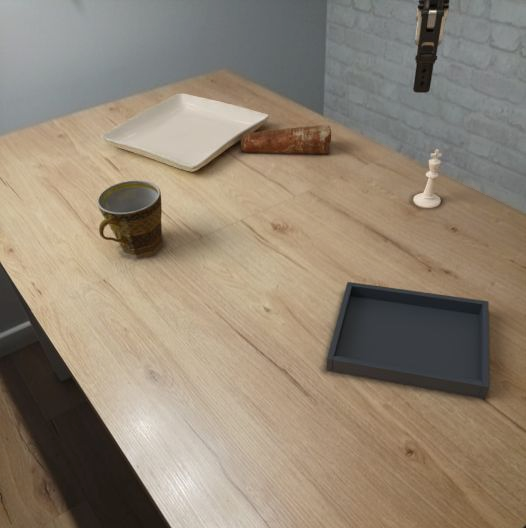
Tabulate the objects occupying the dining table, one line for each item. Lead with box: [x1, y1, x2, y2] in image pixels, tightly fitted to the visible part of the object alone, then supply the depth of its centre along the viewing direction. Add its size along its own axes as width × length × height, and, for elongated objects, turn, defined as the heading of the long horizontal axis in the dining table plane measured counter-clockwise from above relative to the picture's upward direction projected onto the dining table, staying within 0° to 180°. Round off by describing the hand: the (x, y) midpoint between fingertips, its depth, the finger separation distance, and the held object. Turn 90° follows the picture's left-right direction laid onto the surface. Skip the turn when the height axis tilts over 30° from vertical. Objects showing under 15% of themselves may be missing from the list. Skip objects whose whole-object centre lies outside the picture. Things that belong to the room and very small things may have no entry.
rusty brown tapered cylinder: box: [240, 124, 332, 155], centre depth 108 cm, size 6×19×6 cm, turn 82°
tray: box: [325, 281, 490, 400], centre depth 69 cm, size 20×16×3 cm
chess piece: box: [412, 149, 443, 209], centre depth 90 cm, size 5×5×10 cm
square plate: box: [99, 92, 270, 173], centre depth 114 cm, size 27×27×4 cm
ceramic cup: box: [96, 179, 163, 260], centre depth 84 cm, size 13×10×10 cm
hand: (422, 79), depth 74 cm, fingers open, 8 cm apart
